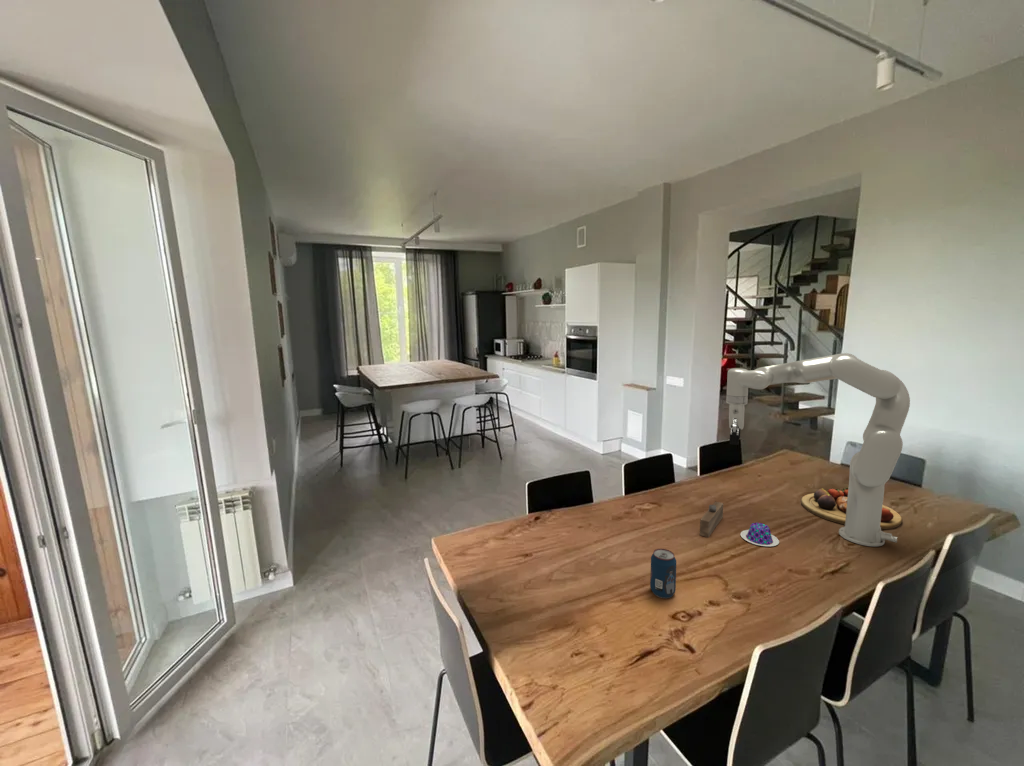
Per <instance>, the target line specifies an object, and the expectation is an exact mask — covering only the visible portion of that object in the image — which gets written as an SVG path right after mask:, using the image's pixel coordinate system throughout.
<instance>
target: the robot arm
mask: <svg viewBox="0 0 1024 766" xmlns="http://www.w3.org/2000/svg"><path fill="white" fill-rule="evenodd" d="M726 376H727V377H726V379H727V382H726V397H725V398H726V399H725V402H726V404H728V408H729V409H728V426H729V429H730V434H729V445H735V446H739V442H740V439H741V430H743V429H744V426H745V406H746V405H748V400H749V399H748V398H749V389H753V390H764V389H766V388H767V387H768V386H771V385H778V384H785V383H786V384H787V383H798V384H809V383H816V382H824V381H831V380H839V381H841V382H843V383H845V384H847V385H848V386H851V387H852V388H855V389H856V390H859V391H861V392H862V393H864V394H866V395H868V396H871V397H873V398H875V404H874V407H873V410H872V414H871V417H870V419H869V421H868V423H867V425H866V427H865V429H864V432H863V433H862V439H863V440H862V441H863V443H862V446H861V448H860V450H859V451H857V452H856V453H854V455H852V457H851V459H850V462H849V476H848V477H849V478H848V487H847V488H848V498H847V508H846V519H845V524H844V526H841V527H840V528H839V529H838V535H840V536H841V537H842V538H843V539H845V540H847V541H849V542H851V543H855V544H857V545H861V546H865V547H874V548H877V547H882V546H884V545H885V542H886V541H889V542H893V543H898V536H896V535H895V536H894V535H893V533H890V532H885V531H884V530H882V529H881V527H880V524H881V514H882V505H884V504H883V503H884V497H885V495H884V494H885V484H887V482H889V479H890V478H891V476H892V474H893V472H894V469H895V467H896V465H897V463H898V460H899V458H900V456H901V454H902V450H903V447H904V446H903V444H904V443H903V439H902V437H901V433H902V429H903V427H904V424H905V422H906V418H907V417H908V414H909V411H910V406H911V397H910V394H909V389H908V388H907V387H906V385H905V384H904V382H903V381H902V380H901V379H900V378H899V377H898V376H896V375H895V374H894V373H893V372H890V371H888V370H885V369H880V368H878V367H876V366H873V365H871V364H869V363H868V362H865V361H864V360H861V359H859V358H858V357H857V356H856V355H854V354H851V353H847V352H846V353H845V352H844V353H836V354H830V355H825V356H819V357H813V358H807V359H801V360H795V361H791V362H784V363H780V364H773V365H768V366H767V365H766V366H761V367H757V368H756V369H754V370H753V369H752V370H751V369H750V370H749V369H746V368H741V367H740V368H736V367H735V368H730V369H728V371H727V375H726Z"/></svg>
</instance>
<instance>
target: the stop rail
mask: <svg viewBox="0 0 1024 766" xmlns="http://www.w3.org/2000/svg"><path fill="white" fill-rule="evenodd" d="M723 517H724V502H720V501H714V502H713V504H709V505H708V510H707V511H706V512H705V513H704V514H703V516H702V517H701V518H700V521H699V536H703V537H704V538H705V537H706V538H710V536H711V535H712V534H713V532H714V530H715V529H716V528H717V527H718V525H719V523H720V522H721V521H722V519H723Z"/></svg>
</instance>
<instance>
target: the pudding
mask: <svg viewBox="0 0 1024 766" xmlns="http://www.w3.org/2000/svg"><path fill="white" fill-rule="evenodd" d="M740 536H741V539H743V540H745V541H747V542H748V543H750V544H752V545H756V546H761V547H775V546H777V545H779V544H780V540H779V539H778V537H776V535H773V534H772V531H771V529H770V527H769V526H768V525H767V524H764V523H761V522H753V523H751V524H750V526H749V529H745V530H742V531H741V532H740Z"/></svg>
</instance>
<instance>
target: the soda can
mask: <svg viewBox="0 0 1024 766" xmlns="http://www.w3.org/2000/svg"><path fill="white" fill-rule="evenodd" d="M650 556H651V557H650V581H649V582H650V583H649V587H650V590H651V591H652V593H653V594H654V595H655V596H656V597H658V598H661V599H670V598H672V597H673V596H674V594H675V593H676V590H677V589H676V587H677V586H676V585H677V559H676V556H675V554H674V552H672V551H671V550H669V549H666V548H657V549H654V550H653V553H652V555H650Z"/></svg>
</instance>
